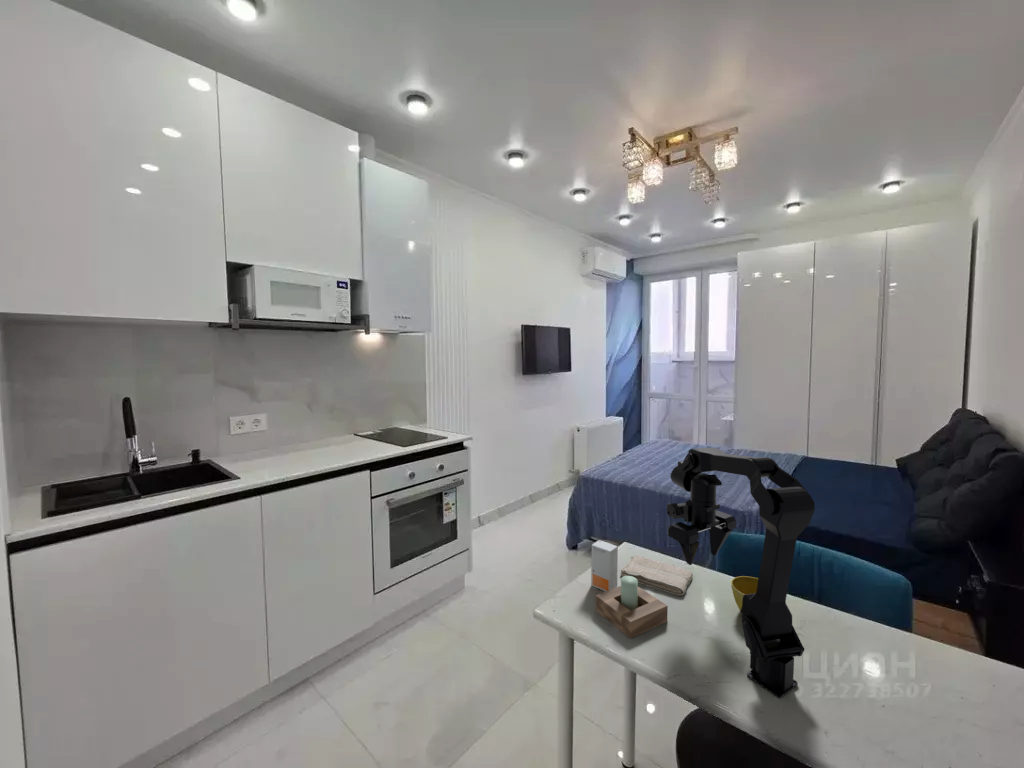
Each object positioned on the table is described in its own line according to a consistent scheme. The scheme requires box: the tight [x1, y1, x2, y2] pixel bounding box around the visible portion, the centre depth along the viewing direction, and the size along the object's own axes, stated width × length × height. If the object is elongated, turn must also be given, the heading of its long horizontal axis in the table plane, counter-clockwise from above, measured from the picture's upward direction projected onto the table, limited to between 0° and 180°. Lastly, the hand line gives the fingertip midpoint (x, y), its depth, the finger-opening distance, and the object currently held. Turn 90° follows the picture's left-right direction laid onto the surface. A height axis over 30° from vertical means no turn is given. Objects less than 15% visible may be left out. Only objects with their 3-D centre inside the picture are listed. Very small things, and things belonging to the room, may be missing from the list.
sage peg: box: [620, 576, 639, 610], centre depth 105 cm, size 4×4×8 cm
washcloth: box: [620, 555, 694, 596], centre depth 122 cm, size 12×18×3 cm, turn 55°
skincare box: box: [590, 539, 619, 592], centre depth 117 cm, size 6×4×12 cm
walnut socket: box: [595, 585, 669, 639], centre depth 105 cm, size 12×12×4 cm
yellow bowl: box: [730, 575, 759, 611], centre depth 104 cm, size 10×10×7 cm
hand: (701, 559), depth 106 cm, fingers open, 9 cm apart
